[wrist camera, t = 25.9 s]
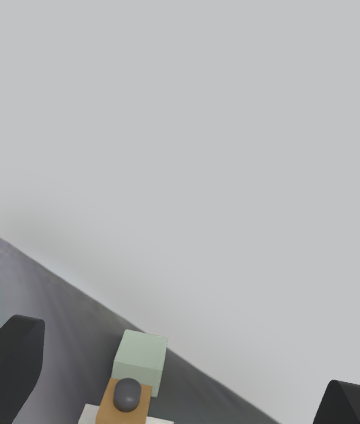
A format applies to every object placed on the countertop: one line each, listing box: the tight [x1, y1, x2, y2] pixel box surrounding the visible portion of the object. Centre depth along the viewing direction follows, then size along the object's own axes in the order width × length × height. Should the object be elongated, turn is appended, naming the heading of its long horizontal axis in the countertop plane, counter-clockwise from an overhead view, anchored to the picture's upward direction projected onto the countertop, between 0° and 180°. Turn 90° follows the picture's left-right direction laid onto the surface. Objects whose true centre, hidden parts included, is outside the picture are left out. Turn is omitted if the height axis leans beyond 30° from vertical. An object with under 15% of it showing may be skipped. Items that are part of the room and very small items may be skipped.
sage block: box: [111, 329, 168, 397], centre depth 48 cm, size 7×7×5 cm
